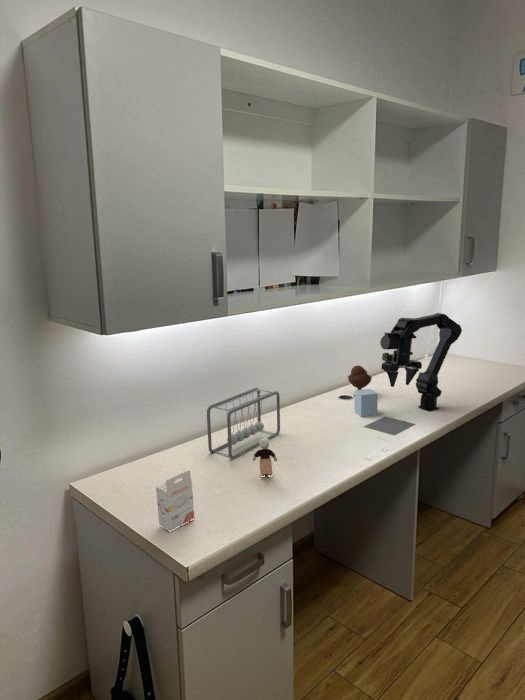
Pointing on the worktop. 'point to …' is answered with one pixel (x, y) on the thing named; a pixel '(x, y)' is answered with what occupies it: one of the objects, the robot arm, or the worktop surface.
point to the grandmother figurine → (265, 457)
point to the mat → (389, 425)
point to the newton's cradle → (246, 431)
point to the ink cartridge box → (175, 501)
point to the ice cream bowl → (359, 377)
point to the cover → (366, 402)
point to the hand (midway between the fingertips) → (399, 385)
